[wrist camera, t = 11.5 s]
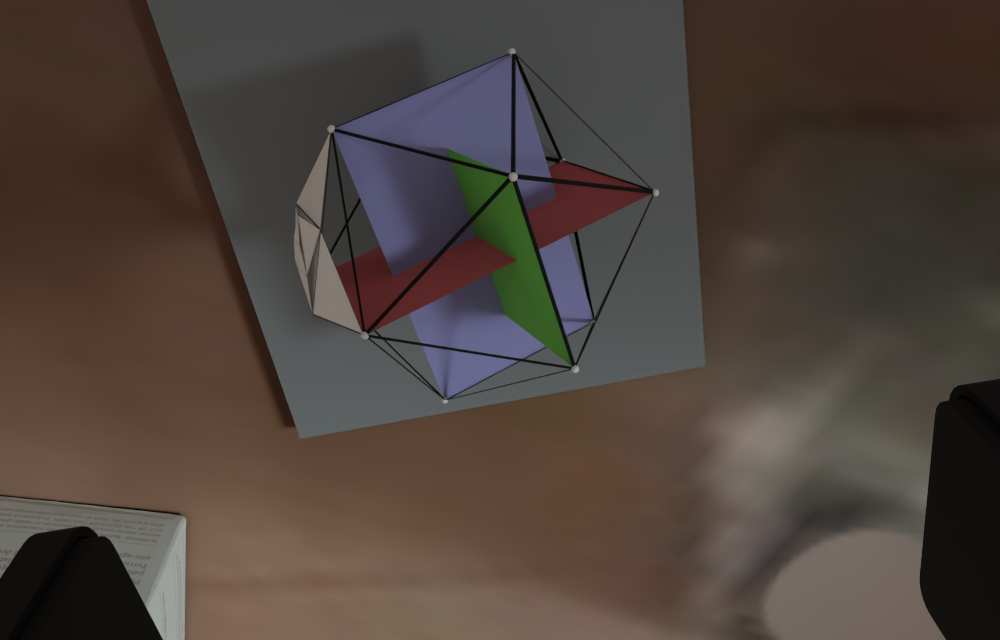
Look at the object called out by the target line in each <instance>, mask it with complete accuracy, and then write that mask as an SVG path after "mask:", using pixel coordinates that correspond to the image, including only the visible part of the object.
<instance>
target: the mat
mask: <svg viewBox="0 0 1000 640" xmlns="http://www.w3.org/2000/svg"><path fill="white" fill-rule="evenodd" d="M146 1H147V3H148V6H149V9H150V12H151V15H152V18H153V20H154V23H155V26H156V29H157V32H158V35H159V38H160V40H161V43H162V46H163V49H164V52H165V55H166V58H167V60H168V63H169V66H170V69H171V72H172V75H173V78H174V80H175V83H176V86H177V89H178V92H179V95H180V98H181V100H182V103H183V106H184V109H185V112H186V115H187V117H188V120H189V123H190V126H191V129H192V132H193V135H194V137H195V140H196V143H197V146H198V149H199V152H200V155H201V157H202V160H203V163H204V166H205V169H206V172H207V175H208V177H209V180H210V183H211V186H212V189H213V192H214V194H215V197H216V200H217V203H218V206H219V209H220V212H221V214H222V217H223V220H224V223H225V226H226V229H227V232H228V234H229V237H230V240H231V243H232V246H233V249H234V252H235V254H236V257H237V260H238V263H239V266H240V269H241V271H242V274H243V277H244V280H245V283H246V286H247V289H248V291H249V294H250V297H251V300H252V303H253V306H254V309H255V311H256V314H257V317H258V320H259V323H260V326H261V329H262V331H263V334H264V337H265V340H266V343H267V346H268V349H269V351H270V354H271V357H272V360H273V363H274V366H275V368H276V371H277V374H278V377H279V380H280V383H281V386H282V388H283V391H284V394H285V397H286V400H287V403H288V406H289V408H290V411H291V414H292V417H293V420H294V423H295V426H296V428H297V431H298V434H299V437H300V439H303V438H308V437H314V436H319V435H325V434H330V433H336V432H342V431H347V430H353V429H358V428H364V427H370V426H375V425H381V424H386V423H392V422H397V421H403V420H409V419H414V418H420V417H425V416H431V415H436V414H442V413H448V412H453V411H459V410H464V409H470V408H476V407H481V406H487V405H492V404H498V403H503V402H509V401H515V400H520V399H526V398H531V397H537V396H543V395H548V394H554V393H559V392H565V391H570V390H576V389H582V388H587V387H593V386H598V385H604V384H610V383H615V382H621V381H626V380H632V379H637V378H643V377H649V376H654V375H660V374H665V373H671V372H676V371H682V370H688V369H693V368H699V367H704V366H706V361H705V345H704V329H703V313H702V297H701V281H700V265H699V249H698V233H697V217H696V201H695V185H694V169H693V153H692V137H691V121H690V105H689V89H688V73H687V57H686V41H685V25H684V9H683V0H146ZM510 48H514V49H515V51H516V54H517V55H518V56H519V57H520V58H521V59H522V60H523V61H524V62H525V63H526V64H527V65H528V66H529V67H530V68H531V69H532V70H533V71H534V72H535V73H536V74H537V75H538V76H539V77H540V78H541V79H542V80H543V81H544V82H545V83H546V84H547V85H548V86H549V87H550V88H551V89H552V90H553V91H554V92H555V93H556V94H557V95H558V96H559V97H560V98H561V99H562V100H563V101H564V102H565V103H566V104H567V105H568V106H569V107H570V108H571V109H572V110H573V111H574V112H575V113H576V114H577V115H578V116H579V117H580V118H581V119H582V120H583V121H584V122H585V123H586V124H587V125H588V126H589V127H590V128H591V129H592V130H593V131H594V132H595V133H596V134H597V135H598V136H599V137H600V138H601V139H602V140H603V141H604V142H605V143H606V144H607V145H608V146H609V147H610V148H611V149H612V150H613V151H614V152H615V153H616V154H617V155H618V156H619V157H621V158H622V159H623V160H624V161H625V162H626V163H627V164H628V165H629V166H630V167H631V168H632V169H633V170H634V171H635V172H636V173H637V174H638V175H639V176H640V177H641V178H642V179H643V180H644V181H645V182H646V183H647V184H648V185H649V186H650V187H651V188H652V189H657V190H658V191H659V195H658V196H653V198H652V201H651V203H650V205H649V207H648V209H647V212H646V214H645V216H644V218H643V220H642V223H641V225H640V227H639V229H638V231H637V234H636V236H635V238H634V240H633V242H632V245H631V247H630V249H629V251H628V253H627V256H626V258H625V260H624V262H623V264H622V267H621V269H620V271H619V273H618V276H617V278H616V280H615V282H614V284H613V287H612V289H611V291H610V293H609V295H608V298H607V300H606V302H605V304H604V306H603V309H602V311H601V313H600V315H599V317H598V320H597V322H596V324H595V326H594V328H593V331H592V333H591V335H590V337H589V339H588V342H587V344H586V346H585V348H584V350H583V353H582V355H581V357H580V359H579V362H578V364H577V366H578V367H579V371H578V372H577V373H573V372H572V371H571V370H569V371H565V372H561V373H557V374H553V375H549V376H545V377H540V376H544V375H548V374H552V373H556V372H560V371H564V370H568V369H566V368H559V367H553V366H547V365H540V364H534V363H528V362H521V361H520V362H518V363H517V364H515V365H513V366H511V367H509V368H507V369H505V370H503V371H501V372H499V373H498V374H496V375H494V376H492V377H490V378H488V379H486V380H484V381H482V382H481V383H479V384H477V385H475V386H473V387H471V388H469V389H467V390H465V391H464V392H462V393H460V394H458V395H456V396H454V397H458V396H462V395H467V394H471V393H475V392H479V391H483V390H487V389H491V388H495V387H499V386H503V385H507V384H511V383H515V382H519V381H523V380H528V379H532V378H536V377H540V378H536V379H532V380H528V381H524V382H520V383H516V384H512V385H508V386H504V387H500V388H495V389H491V390H487V391H483V392H479V393H475V394H471V395H467V396H463V397H459V398H455V399H450V400H448V402H447V403H442V401H441V399H442V398H441V397H440V396H438V395H437V394H436V393H435V392H433V391H432V390H431V389H430V388H428V387H427V386H426V385H425V384H424V383H422V382H421V381H420V380H419V379H417V378H416V377H415V376H414V375H412V374H411V373H410V372H409V371H407V370H406V369H405V368H404V367H402V366H401V365H400V364H399V363H397V362H396V361H395V360H394V359H392V358H391V357H390V356H389V355H387V354H386V353H385V352H384V351H383V350H381V349H380V348H379V347H378V346H376V345H375V344H374V343H373V342H371V341H370V340H369V339H366V340H364V339H362V338H361V334H359V333H356V332H354V331H351V330H349V329H346V328H344V327H341V326H339V325H336V324H334V323H331V322H329V321H327V320H324V319H322V318H319V317H317V316H314V315H313V314H312V311H311V308H310V305H309V302H308V299H307V296H306V293H305V290H304V286H303V283H302V280H301V277H300V274H299V271H298V268H297V265H296V262H295V253H294V233H295V221H296V202H297V200H298V198H299V195H300V193H301V191H302V189H303V187H304V185H305V183H306V181H307V179H308V176H309V174H310V172H311V170H312V168H313V166H314V164H315V162H316V160H317V157H318V155H319V153H320V151H321V149H322V147H323V145H324V143H325V141H326V139H327V136H328V134H329V132H328V130H327V128H328V126H329V125H333V126H334V127H336V126H339V125H341V124H343V123H346V122H348V121H350V120H353V119H355V118H358V117H360V116H362V115H365V114H367V113H369V112H372V111H374V110H376V109H379V108H381V107H384V106H386V105H388V104H391V103H393V102H395V101H398V100H400V99H402V98H405V97H407V96H410V95H412V94H414V93H417V92H419V91H421V90H424V89H426V88H428V87H431V86H433V85H436V84H438V83H440V82H443V81H445V80H447V79H450V78H452V77H454V76H457V75H459V74H462V73H464V72H466V71H469V70H471V69H473V68H476V67H478V66H480V65H483V64H485V63H488V62H490V61H492V60H495V59H497V58H499V57H502V56H504V55H506V54H508V50H509V49H510ZM518 59H519V58H518ZM519 62H520V64H521V66H522V68H523V71H524V73H525V75H526V77H527V80H528V82H529V84H530V86H531V89H532V91H533V93H534V95H535V98H536V100H537V102H538V104H539V107H540V109H541V111H542V113H543V116H544V118H545V120H546V122H547V125H548V127H549V129H550V131H551V134H552V136H553V138H554V140H555V143H556V145H557V147H558V149H559V152H560V154H561V156H562V158H563V159H565V160H566V161H568V162H571V163H574V164H577V165H580V166H583V167H586V168H589V169H592V170H595V171H598V172H601V173H604V174H607V175H610V176H613V177H616V178H620V179H623V180H626V181H629V182H632V183H635V184H638V185H641V186H644V187H647V188H649V187H648V186H647V185H646V184H645V183H644V182H643V181H642V180H641V179H640V178H639V177H638V176H637V175H636V174H635V173H634V172H633V171H632V170H631V169H630V168H629V167H628V166H627V165H626V164H625V163H624V162H623V161H622V160H621V159H620V158H619V157H618V156H617V155H616V154H615V153H614V152H613V151H612V150H611V149H610V148H609V147H608V146H607V145H606V144H605V143H604V142H603V141H602V140H601V139H600V138H599V137H598V136H597V135H596V134H595V133H594V132H593V131H592V130H591V129H590V128H589V127H588V126H587V125H586V124H585V123H584V122H583V121H582V120H581V119H580V118H579V117H578V116H577V115H576V114H574V113H573V112H572V111H571V110H570V109H569V108H568V107H567V106H566V105H565V104H564V103H563V102H562V101H561V100H560V99H559V98H558V97H557V96H556V95H555V94H554V93H553V92H552V91H551V90H550V89H549V88H548V87H547V86H546V85H545V84H544V83H543V82H542V81H541V80H540V79H539V78H538V77H537V76H536V75H535V74H534V73H533V72H532V71H531V70H530V69H529V68H528V67H527V66H526V65H525V64H524V63H523V62H522V61H521V60H520V59H519ZM520 75H521V73H520ZM521 78H522V76H521ZM522 81H523V85H524V88H525V91H526V95H527V98H528V101H529V105H530V108H531V111H532V115H533V118H534V121H535V125H536V128H537V132H538V135H539V138H540V142H541V145H542V148H543V152H544V155H545V156H547V157H552V158H557V159H559V158H558V155H557V153H556V151H555V149H554V146H553V144H552V142H551V140H550V138H549V135H548V133H547V131H546V129H545V126H544V124H543V122H542V120H541V118H540V115H539V113H538V111H537V109H536V107H535V104H534V102H533V100H532V98H531V95H530V93H529V91H528V89H527V87H526V84H525V82H524V80H523V78H522ZM330 136H331V135H330ZM334 138H335V137H334ZM335 144H336V150H337V157H338V163H339V169H340V175H341V182H342V188H343V194H344V200H345V207H346V213H347V219H348V218H349V216H350V214H351V212H352V210H353V209H354V207H355V205H356V203H357V201H358V200H359V198H360V196H359V194H358V192H357V189H356V187H355V184H354V182H353V180H352V177H351V175H350V172H349V170H348V168H347V165H346V163H345V160H344V158H343V156H342V153H341V151H340V149H339V146H338V144H337V141H336V139H335ZM329 147H330V145H329ZM328 157H329V154H328ZM546 162H547V165H548V167H551V166H553V165H555V164H557V163H558V162H553V161H548V160H546ZM327 168H328V164H327ZM326 179H327V173H326ZM325 189H326V183H325ZM651 197H652V194H650V195H648V196H646V197H644V198H642V199H640V200H638V201H636V202H634V203H632V204H630V205H628V206H626V207H624V208H622V209H620V210H618V211H616V212H614V213H612V214H610V215H608V216H606V217H604V218H602V219H600V220H598V221H596V222H594V223H592V224H590V225H588V226H586V227H584V228H582V229H580V230H577V232H578V237H579V242H580V247H581V252H582V258H583V263H584V268H585V273H586V278H587V283H588V288H589V293H590V298H591V303H592V308H593V313H594V318H595V317H596V315H597V312H598V310H599V308H600V306H601V304H602V302H603V300H604V297H605V295H606V293H607V291H608V289H609V287H610V285H611V283H612V280H613V278H614V276H615V274H616V272H617V270H618V268H619V265H620V263H621V261H622V259H623V257H624V255H625V253H626V250H627V248H628V246H629V244H630V242H631V240H632V238H633V235H634V233H635V231H636V229H637V227H638V225H639V223H640V220H641V218H642V216H643V214H644V212H645V210H646V208H647V206H648V203H649V201H650V199H651ZM324 200H325V192H324ZM323 211H324V202H323ZM323 211H322V221H323ZM322 221H321V231H322ZM344 225H345V217H344V211H343V204H342V198H341V192H340V185H339V179H338V173H337V167H336V160H335V154H334V148H333V142H332V137H331V147H330V158H329V168H328V179H327V190H326V200H325V211H324V221H323V232H322V234H323V236H324V239H325V241H326V244H327V246H328V248H329V251H330V250H331V249H332V247H333V245H334V243H335V241H336V240H337V238H338V236H339V234H340V232H341V230H342V229H343V227H344ZM348 225H349V232H350V238H351V244H352V250H353V257H354V258H356V257H358V256H360V255H362V254H364V253H367V252H369V251H371V250H373V249H375V248H377V247H379V246H380V244H379V242H378V239H377V237H376V235H375V232H374V230H373V227H372V225H371V223H370V220H369V218H368V215H367V213H366V211H365V208H364V206H363V204H362V201H360V203H359V205H358V207H357V208H356V210H355V212H354V214H353V216H352V218H351V219H350V221H349V223H348ZM569 239H570V242H571V245H572V249H573V252H574V255H575V259H576V262H577V265H578V269H579V272H580V275H581V279H582V282H583V285H584V281H583V276H582V271H581V266H580V261H579V256H578V251H577V246H576V241H575V236H574V232H573V233H571V234H569ZM331 256H332V258H333V261H334V263H335V266H336V267H337V266H339V265H341V264H343V263H345V262H347V261H350V260H351V254H350V248H349V242H348V236H347V229H346V228H345V230H344V232H343V234H342V236H341V238H340V239H339V241H338V243H337V245H336V247H335V248H334V250H333V252H332V254H331ZM584 289H585V286H584ZM585 292H586V291H585ZM598 314H599V313H598ZM597 316H598V315H597ZM590 327H591V324H590V325H588V326H587V327H585V328H583V329H581V330H579V331H577V332H575V333H573V334H571V335H570V336H568V337H567V339H568V342H569V345H570V349H571V352H572V355H573V358H574V361H575V363H576V361H577V359H578V356H579V354H580V351H581V349H582V347H583V344H584V342H585V339H586V337H587V335H588V332H589V330H590ZM376 331H377V332H378V333H379V334H380V335H381V336H382V337H387V338H393V339H400V340H406V341H412V342H419V343H421V342H420V340H419V337H418V335H417V333H416V330H415V328H414V325H413V323H412V321H411V318H410V316H409V314H407V315H405V316H403V317H401V318H399V319H397V320H395V321H393V322H391V323H389V324H387V325H385V326H383V327H381V328H379V329H377V330H376ZM369 335H375V336H378V335H377V334H376V333H375V332H374V331H373V332H371V333H369ZM370 339H371V340H373V341H374V342H375V343H376V344H378V345H379V346H380V347H381V348H383V349H384V350H385V351H386V352H388V353H389V354H390V355H391V356H392V357H394V358H395V359H396V360H397V361H399V362H400V363H401V364H402V365H404V366H405V367H406V368H407V369H409V370H410V371H411V372H412V373H413V374H415V375H416V376H417V377H418V378H420V379H421V380H422V381H423V382H425V381H424V380H423V379H422V378H421V377H420V376H419V375H418V374H417V373H416V372H415V371H414V370H413V369H412V368H411V367H410V366H409V365H408V364H407V363H406V362H405V361H404V360H403V359H402V358H401V357H400V356H399V355H398V354H397V353H396V352H395V351H394V350H393V349H392V348H391V347H390V346H389V345H388V344H387V343H386V342H385V341H383V340H382V339H375V338H370ZM386 341H387V342H388V343H389V344H390V345H391V346H392V347H393V348H394V349H395V350H396V351H397V352H398V353H399V354H400V355H401V356H402V357H403V358H404V359H405V360H406V361H407V362H408V363H409V364H410V365H411V366H412V367H413V368H415V369H416V370H417V371H418V372H419V373H420V374H421V375H422V376H423V377H424V378H425V379H426V380H427V381H428V382H429V383H430V384H431V385H432V386H433V387H434V388H435V389H436V390H437V391H438V392H439V393H440V394H441V395H442V392H441V390H440V388H439V385H438V383H437V380H436V378H435V376H434V373H433V371H432V368H431V366H430V364H429V361H428V359H427V357H426V354H425V352H424V349H423V347H422V346H420V345H413V344H407V343H401V342H394V341H388V340H386ZM526 360H533V361H539V362H545V363H552V364H558V365H564V366H571V365H569V364H568V363H567V362H565V361H564V360H563V359H561V358H560V357H559V356H558V355H556V354H555V353H554V352H552V351H551V350H550V349H549V348H545V349H543V350H541V351H539V352H537V353H535V354H534V355H532V356H530V357H528V358H526ZM571 367H572V366H571ZM425 383H426V382H425ZM426 384H427V383H426ZM427 385H428V384H427ZM428 386H429V385H428ZM442 396H443V395H442ZM454 397H452V398H454Z"/></svg>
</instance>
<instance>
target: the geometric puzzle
mask: <svg viewBox="0 0 1000 640" xmlns="http://www.w3.org/2000/svg"><path fill="white" fill-rule="evenodd" d="M518 58H519V59H520V60H521V61H522V62H523V63H524V64H525V65H526V66H527V67H528V68H529V69H530V70H531V71H532V72H533V73H534V74H535V75H536V76H537V77H538V78H539V79H540V80H541V81H542V82H543V83H544V84H545V85H546V86H547V87H548V88H549V89H550V90H551V91H552V92H553V93H554V94H555V95H556V96H557V97H558V98H559V99H560V100H561V101H562V102H563V103H564V104H565V105H566V106H567V107H568V108H569V109H570V110H571V111H572V112H573V113H574V114H576V113H575V112H574V111H573V110H572V109H571V108H570V107H569V106H568V105H567V104H566V103H565V102H564V101H563V100H562V99H561V98H560V97H559V96H558V95H557V94H556V93H555V92H554V91H553V90H552V89H551V88H550V87H549V86H548V85H547V84H546V83H545V82H544V81H543V80H542V79H541V78H540V77H539V76H538V75H537V74H536V73H535V72H534V71H533V70H532V69H531V68H530V67H529V66H528V65H527V64H526V63H525V62H524V61H523V60H522V59H521V58H520V57H519V56H518V55H517V54H516V51H515V49H514V48H510V49H509V50H508V54H506V55H504V56H502V57H499V58H497V59H495V60H492V61H490V62H488V63H485V64H483V65H480V66H478V67H476V68H473V69H471V70H469V71H466V72H464V73H462V74H459V75H457V76H454V77H452V78H450V79H447V80H445V81H443V82H440V83H438V84H436V85H433V86H431V87H428V88H426V89H424V90H421V91H419V92H417V93H414V94H412V95H410V96H407V97H405V98H402V99H400V100H398V101H395V102H393V103H391V104H388V105H386V106H384V107H381V108H379V109H376V110H374V111H372V112H369V113H367V114H365V115H362V116H360V117H358V118H355V119H353V120H350V121H348V122H346V123H343V124H341V125H339V126H336V127H334V126H333V125H329V126H328V128H327V130H328V132H329V134H328V136H327V139H326V141H325V143H324V145H323V147H322V149H321V151H320V153H319V155H318V157H317V160H316V162H315V164H314V166H313V168H312V170H311V172H310V174H309V176H308V179H307V181H306V183H305V185H304V187H303V189H302V191H301V193H300V195H299V198H298V200H297V202H296V221H295V233H294V253H295V262H296V265H297V268H298V271H299V274H300V277H301V280H302V283H303V286H304V290H305V293H306V296H307V299H308V302H309V305H310V308H311V311H312V314H313V315H314V316H317V317H319V318H322V319H324V320H327V321H329V322H331V323H334V324H336V325H339V326H341V327H344V328H346V329H349V330H351V331H354V332H356V333H359V334H361V338H362V339H364V340H366V339H369V340H370V341H371V342H373V343H374V344H375V345H376V346H378V347H379V348H380V349H381V350H383V351H384V352H385V353H386V354H387V355H389V356H390V357H391V358H392V359H394V360H395V361H396V362H397V363H399V364H400V365H401V366H402V367H404V368H405V369H406V370H407V371H409V372H410V373H411V374H412V375H414V376H415V377H416V378H417V379H419V380H420V381H421V382H422V383H424V384H425V385H426V386H427V387H428V388H430V389H431V390H432V391H433V392H435V393H436V394H437V395H438V396H440V397H441V398H442V399H441V401H442V403H447V402H448V400H450V399H455V398H459V397H463V396H467V395H471V394H475V393H479V392H483V391H487V390H491V389H495V388H500V387H504V386H508V385H512V384H516V383H520V382H524V381H528V380H532V379H536V378H540V377H545V376H549V375H553V374H557V373H561V372H565V371H569V370H571V371H572V372H573V373H577V372H578V371H579V367H578V366H577V364H578V362H579V359H580V357H581V355H582V353H583V350H584V348H585V346H586V344H587V342H588V339H589V337H590V335H591V333H592V331H593V328H594V326H595V324H596V322H597V320H598V317H599V315H600V313H601V311H602V309H603V306H604V304H605V302H606V300H607V298H608V295H609V293H610V291H611V289H612V287H613V284H614V282H615V280H616V278H617V276H618V273H619V271H620V269H621V267H622V264H623V262H624V260H625V258H626V256H627V253H628V251H629V249H630V247H631V245H632V242H633V240H634V238H635V236H636V234H637V231H638V229H639V227H640V225H641V223H642V220H643V218H644V216H645V214H646V212H647V209H648V207H649V205H650V203H651V201H652V198H653V196H658V195H659V191H658V190H657V189H652V188H651V187H650V186H649V185H648V184H647V183H646V182H645V181H644V180H643V179H642V178H641V177H640V176H639V175H638V174H637V173H636V172H635V171H634V170H633V169H632V168H631V167H630V166H629V165H628V164H627V163H626V162H625V161H624V160H623V159H622V158H621V157H619V156H618V155H617V154H616V153H615V152H614V151H613V150H612V149H611V148H610V147H609V146H608V145H607V144H606V143H605V142H604V141H603V140H602V139H601V138H600V137H599V136H598V135H597V134H596V133H595V132H594V131H593V130H592V129H591V128H590V127H589V126H588V125H587V124H586V123H585V122H584V121H583V120H582V119H581V118H580V117H579V116H578V115H577V114H576V115H577V116H578V117H579V118H580V119H581V120H582V121H583V122H584V123H585V124H586V125H587V126H588V127H589V128H590V129H591V130H592V131H593V132H594V133H595V134H596V135H597V136H598V137H599V138H600V139H601V140H602V141H603V142H604V143H605V144H606V145H607V146H608V147H609V148H610V149H611V150H612V151H613V152H614V153H615V154H616V155H617V156H618V157H619V158H620V159H621V160H622V161H623V162H624V163H625V164H626V165H627V166H628V167H629V168H630V169H631V170H632V171H633V172H634V173H635V174H636V175H637V176H638V177H639V178H640V179H641V180H642V181H643V182H644V183H645V184H646V185H647V186H648V187H649V188H647V187H644V186H641V185H638V184H635V183H632V182H629V181H626V180H623V179H620V178H616V177H613V176H610V175H607V174H604V173H601V172H598V171H595V170H592V169H589V168H586V167H583V166H580V165H577V164H574V163H571V162H568V161H566V160H565V159H563V158H562V156H561V154H560V152H559V149H558V147H557V145H556V143H555V140H554V138H553V136H552V134H551V131H550V129H549V127H548V125H547V122H546V120H545V118H544V116H543V113H542V111H541V109H540V107H539V104H538V102H537V100H536V98H535V95H534V93H533V91H532V89H531V86H530V84H529V82H528V80H527V77H526V75H525V73H524V71H523V68H522V66H521V64H520V62H519V59H518ZM520 73H521V75H520ZM521 76H522V78H523V80H524V82H525V84H526V87H527V89H528V91H529V93H530V95H531V98H532V100H533V102H534V104H535V107H536V109H537V111H538V113H539V115H540V118H541V120H542V122H543V124H544V126H545V129H546V131H547V133H548V135H549V138H550V140H551V142H552V144H553V146H554V149H555V151H556V153H557V155H558V158H559V159H557V158H552V157H547V156H545V155H544V152H543V148H542V145H541V142H540V138H539V135H538V132H537V128H536V125H535V121H534V118H533V115H532V111H531V108H530V105H529V101H528V98H527V95H526V91H525V88H524V85H523V81H522V78H521ZM330 135H331V136H330ZM331 137H332V142H333V148H334V154H335V160H336V167H337V173H338V179H339V185H340V192H341V198H342V204H343V211H344V217H345V225H344V227H343V229H342V230H341V232H340V234H339V236H338V238H337V240H336V241H335V243H334V245H333V247H332V249H331V250H330V251H329V248H328V246H327V244H326V241H325V239H324V236H323V234H322V232H323V221H324V211H325V200H326V190H327V179H328V168H329V158H330V147H331ZM334 137H335V138H334ZM335 139H336V141H337V144H338V146H339V149H340V151H341V153H342V156H343V158H344V160H345V163H346V165H347V168H348V170H349V172H350V175H351V177H352V180H353V182H354V184H355V187H356V189H357V192H358V194H359V196H360V198H359V200H358V201H357V203H356V205H355V207H354V209H353V210H352V212H351V214H350V216H349V218H348V219H347V213H346V207H345V200H344V194H343V188H342V182H341V175H340V169H339V163H338V157H337V150H336V144H335ZM329 145H330V147H329ZM328 154H329V157H328ZM546 160H548V161H553V162H558V163H557V164H555V165H553V166H551V167H548V165H547V162H546ZM327 164H328V168H327ZM326 173H327V179H326ZM325 183H326V189H325ZM324 192H325V200H324ZM650 194H652V197H651V199H650V201H649V203H648V206H647V208H646V210H645V212H644V214H643V216H642V218H641V220H640V223H639V225H638V227H637V229H636V231H635V233H634V235H633V238H632V240H631V242H630V244H629V246H628V248H627V250H626V253H625V255H624V257H623V259H622V261H621V263H620V265H619V268H618V270H617V272H616V274H615V276H614V278H613V280H612V283H611V285H610V287H609V289H608V291H607V293H606V295H605V297H604V300H603V302H602V304H601V306H600V308H599V310H598V312H597V315H598V316H597V315H596V317H595V318H594V313H593V308H592V303H591V298H590V293H589V288H588V283H587V278H586V273H585V268H584V263H583V258H582V252H581V247H580V242H579V237H578V232H577V230H580V229H582V228H584V227H586V226H588V225H590V224H592V223H594V222H596V221H598V220H600V219H602V218H604V217H606V216H608V215H610V214H612V213H614V212H616V211H618V210H620V209H622V208H624V207H626V206H628V205H630V204H632V203H634V202H636V201H638V200H640V199H642V198H644V197H646V196H648V195H650ZM360 201H362V204H363V206H364V208H365V211H366V213H367V215H368V218H369V220H370V223H371V225H372V227H373V230H374V232H375V235H376V237H377V239H378V242H379V244H380V246H379V247H377V248H375V249H373V250H371V251H369V252H367V253H364V254H362V255H360V256H358V257H356V258H354V257H353V250H352V244H351V238H350V232H349V225H348V223H349V221H350V219H351V218H352V216H353V214H354V212H355V210H356V208H357V207H358V205H359V203H360ZM323 202H324V211H323ZM322 211H323V221H322ZM321 221H322V231H321ZM345 228H346V229H347V236H348V242H349V248H350V254H351V260H350V261H347V262H345V263H343V264H341V265H339V266H337V267H336V266H335V263H334V261H333V258H332V256H331V254H332V252H333V250H334V248H335V247H336V245H337V243H338V241H339V239H340V238H341V236H342V234H343V232H344V230H345ZM573 232H574V236H575V241H576V246H577V251H578V256H579V261H580V266H581V271H582V276H583V281H584V285H583V282H582V279H581V275H580V272H579V269H578V265H577V262H576V259H575V255H574V252H573V249H572V245H571V242H570V239H569V234H571V233H573ZM584 286H585V289H584ZM585 291H586V292H585ZM598 313H599V314H598ZM407 314H409V316H410V318H411V321H412V323H413V325H414V328H415V330H416V333H417V335H418V337H419V340H420V342H421V343H419V342H412V341H406V340H400V339H393V338H387V337H382V336H381V335H380V334H379V333H378V332H377V331H376V330H377V329H379V328H381V327H383V326H385V325H387V324H389V323H391V322H393V321H395V320H397V319H399V318H401V317H403V316H405V315H407ZM590 324H591V327H590V330H589V332H588V335H587V337H586V339H585V342H584V344H583V347H582V349H581V351H580V354H579V356H578V359H577V361H576V363H575V361H574V358H573V355H572V352H571V349H570V345H569V342H568V339H567V337H568V336H570V335H571V334H573V333H575V332H577V331H579V330H581V329H583V328H585V327H587V326H588V325H590ZM373 331H374V332H375V333H376V334H377V335H378V336H375V335H369V333H371V332H373ZM370 338H375V339H382V340H383V341H385V342H386V343H387V344H388V345H389V346H390V347H391V348H392V349H393V350H394V351H395V352H396V353H397V354H398V355H399V356H400V357H401V358H402V359H403V360H404V361H405V362H406V363H407V364H408V365H409V366H410V367H411V368H412V369H413V370H414V371H415V372H416V373H417V374H418V375H419V376H420V377H421V378H422V379H423V380H424V381H425V382H426V383H427V384H428V385H429V386H428V385H427V384H426V383H425V382H423V381H422V380H421V379H420V378H418V377H417V376H416V375H415V374H413V373H412V372H411V371H410V370H409V369H407V368H406V367H405V366H404V365H402V364H401V363H400V362H399V361H397V360H396V359H395V358H394V357H392V356H391V355H390V354H389V353H388V352H386V351H385V350H384V349H383V348H381V347H380V346H379V345H378V344H376V343H375V342H374V341H373V340H371V339H370ZM386 340H388V341H394V342H401V343H407V344H413V345H420V346H422V347H423V349H424V352H425V354H426V357H427V359H428V361H429V364H430V366H431V368H432V371H433V373H434V376H435V378H436V380H437V383H438V385H439V388H440V390H441V392H442V395H443V396H442V395H441V394H440V393H439V392H438V391H437V390H436V389H435V388H434V387H433V386H432V385H431V384H430V383H429V382H428V381H427V380H426V379H425V378H424V377H423V376H422V375H421V374H420V373H419V372H418V371H417V370H416V369H415V368H413V367H412V366H411V365H410V364H409V363H408V362H407V361H406V360H405V359H404V358H403V357H402V356H401V355H400V354H399V353H398V352H397V351H396V350H395V349H394V348H393V347H392V346H391V345H390V344H389V343H388V342H387V341H386ZM545 348H549V349H550V350H551V351H552V352H554V353H555V354H556V355H558V356H559V357H560V358H561V359H563V360H564V361H565V362H567V363H568V364H569V365H571V366H572V367H571V366H564V365H558V364H552V363H545V362H539V361H533V360H526V358H528V357H530V356H532V355H534V354H535V353H537V352H539V351H541V350H543V349H545ZM520 361H521V362H528V363H534V364H540V365H547V366H553V367H559V368H566V369H568V370H564V371H560V372H556V373H552V374H548V375H544V376H540V377H536V378H532V379H528V380H523V381H519V382H515V383H511V384H507V385H503V386H499V387H495V388H491V389H487V390H483V391H479V392H475V393H471V394H467V395H462V396H458V397H454V396H456V395H458V394H460V393H462V392H464V391H465V390H467V389H469V388H471V387H473V386H475V385H477V384H479V383H481V382H482V381H484V380H486V379H488V378H490V377H492V376H494V375H496V374H498V373H499V372H501V371H503V370H505V369H507V368H509V367H511V366H513V365H515V364H517V363H518V362H520ZM452 397H454V398H452Z"/></svg>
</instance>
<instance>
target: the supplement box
mask: <svg viewBox="0 0 1000 640" xmlns="http://www.w3.org/2000/svg"><path fill="white" fill-rule="evenodd" d="M79 526H87V527H89V528H91V529H93V530H94V531H95V532H96V534H97V535H98V536H105V537H107V538H108V539H110V541H111V542H112V543H113V545H114V547H115V549H116V551H117V552H118V554H119V556H120V558H121V560H122V562H123V564H124V566H125V568H126V570H127V572H128V573H129V575H130V577H131V579H132V581H133V583H134V585H135V587H136V589H137V591H138V593H139V595H140V596H141V598H142V600H143V602H144V604H145V606H146V608H147V610H148V612H149V614H150V616H151V618H152V619H153V621H154V623H155V625H156V627H157V629H158V631H159V633H160V635H161V637H162V639H163V640H185V557H186V519H185V517H184V516H181V515H174V514H166V513H156V512H148V511H139V510H130V509H119V508H109V507H101V506H92V505H80V504H71V503H64V502H55V501H43V500H31V499H23V498H14V497H2V496H0V578H1V576H2V575H3V573H4V572H5V570H6V569H7V567H8V566H9V564H10V563H11V561H12V560H13V558H14V557H15V555H16V554H17V552H18V551H19V549H20V548H21V546H22V545H23V543H24V542H25V541H26V540H27V539H28V538H29V537H30V536H32V535H34V534H36V533H41V532H48V531H54V530H60V529H66V528H73V527H79Z"/></svg>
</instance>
